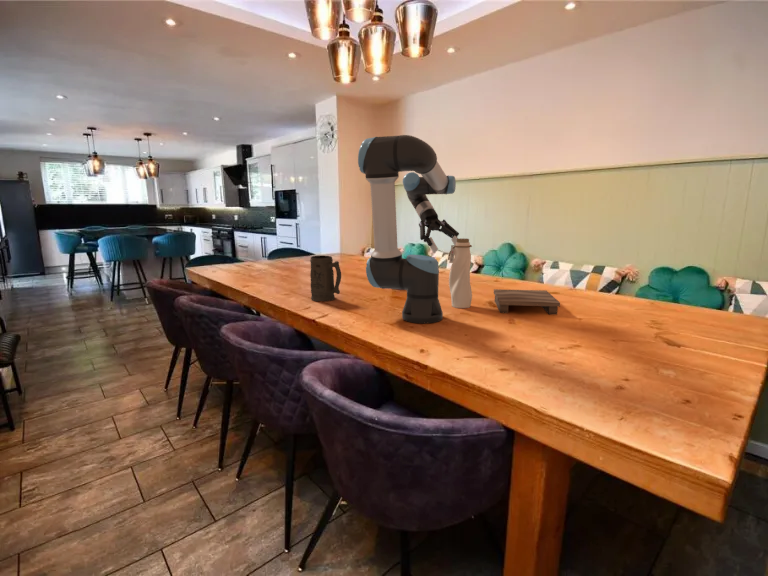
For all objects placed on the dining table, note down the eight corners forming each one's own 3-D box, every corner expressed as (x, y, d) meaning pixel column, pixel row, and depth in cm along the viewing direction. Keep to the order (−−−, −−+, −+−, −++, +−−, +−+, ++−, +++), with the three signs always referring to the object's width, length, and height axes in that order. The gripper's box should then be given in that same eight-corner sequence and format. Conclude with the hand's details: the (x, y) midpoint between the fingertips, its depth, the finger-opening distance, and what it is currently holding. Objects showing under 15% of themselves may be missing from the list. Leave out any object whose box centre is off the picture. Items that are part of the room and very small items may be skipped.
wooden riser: (559, 315, 147) (560, 302, 146) (499, 313, 150) (499, 301, 149) (545, 301, 168) (546, 290, 167) (493, 300, 172) (493, 289, 170)
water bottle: (445, 308, 159) (447, 239, 154) (447, 302, 168) (449, 238, 162) (471, 309, 157) (473, 240, 151) (471, 304, 166) (474, 238, 160)
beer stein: (305, 300, 175) (305, 256, 170) (316, 295, 185) (316, 253, 180) (336, 305, 170) (338, 260, 166) (346, 299, 180) (347, 257, 176)
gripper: (444, 218, 184) (465, 253, 174) (400, 220, 171) (421, 257, 162) (452, 207, 178) (474, 242, 169) (407, 208, 166) (429, 246, 156)
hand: (448, 250), depth 165 cm, fingers open, 13 cm apart
